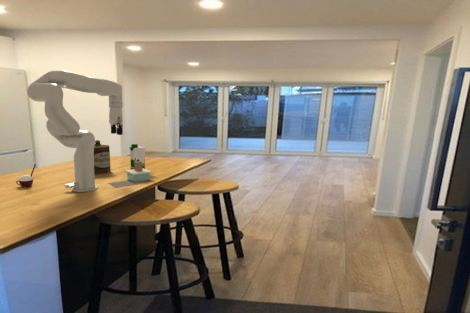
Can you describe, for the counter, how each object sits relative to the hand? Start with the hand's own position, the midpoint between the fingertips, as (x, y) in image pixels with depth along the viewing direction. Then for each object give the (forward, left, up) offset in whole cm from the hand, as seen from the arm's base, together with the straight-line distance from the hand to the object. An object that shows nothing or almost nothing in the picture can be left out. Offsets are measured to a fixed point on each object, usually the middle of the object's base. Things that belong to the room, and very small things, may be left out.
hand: (116, 134), depth 180 cm
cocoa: (-45, +13, -28) cm, 55 cm away
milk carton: (+18, +12, -28) cm, 36 cm away
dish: (+10, -7, -28) cm, 31 cm away
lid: (+10, -7, -23) cm, 26 cm away
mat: (-2, -13, -28) cm, 31 cm away
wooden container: (-2, +30, -28) cm, 42 cm away
